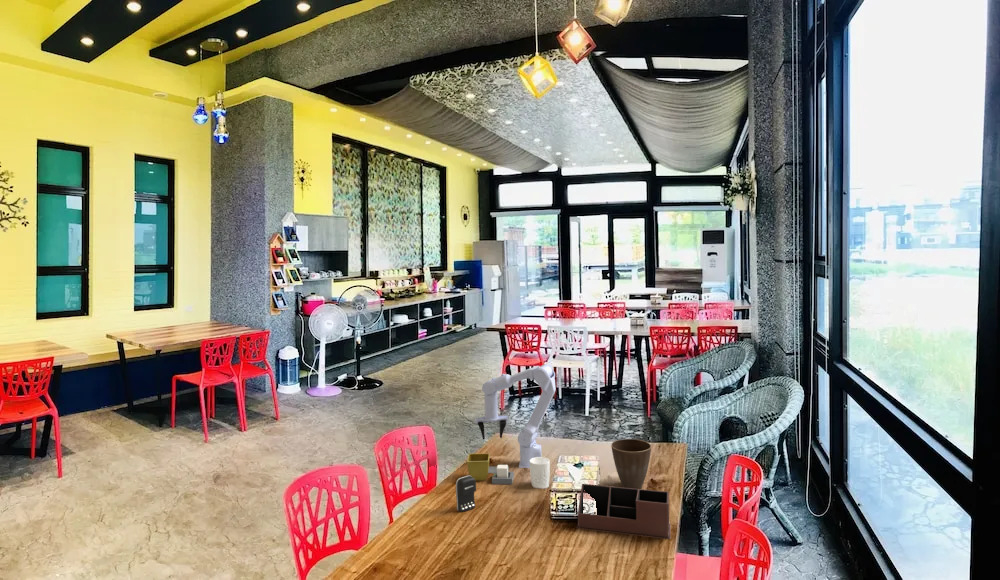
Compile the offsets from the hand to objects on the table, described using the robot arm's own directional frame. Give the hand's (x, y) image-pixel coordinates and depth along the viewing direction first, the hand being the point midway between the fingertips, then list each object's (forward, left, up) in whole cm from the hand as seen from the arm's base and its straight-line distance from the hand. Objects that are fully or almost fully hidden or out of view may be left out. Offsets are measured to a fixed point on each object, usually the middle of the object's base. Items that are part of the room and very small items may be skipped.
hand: (492, 438), depth 245 cm
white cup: (-22, +26, -11) cm, 36 cm away
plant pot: (-57, +25, -11) cm, 63 cm away
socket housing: (-7, +22, -10) cm, 25 cm away
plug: (-7, +22, -10) cm, 25 cm away
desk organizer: (-51, +58, -11) cm, 78 cm away
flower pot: (+3, +20, -11) cm, 23 cm away
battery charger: (+3, +48, -11) cm, 49 cm away
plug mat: (-4, +11, -10) cm, 15 cm away
